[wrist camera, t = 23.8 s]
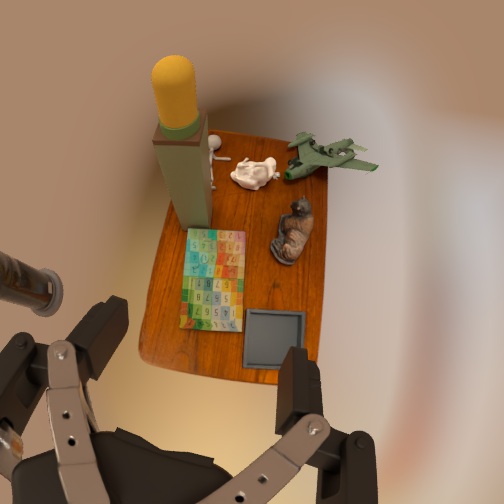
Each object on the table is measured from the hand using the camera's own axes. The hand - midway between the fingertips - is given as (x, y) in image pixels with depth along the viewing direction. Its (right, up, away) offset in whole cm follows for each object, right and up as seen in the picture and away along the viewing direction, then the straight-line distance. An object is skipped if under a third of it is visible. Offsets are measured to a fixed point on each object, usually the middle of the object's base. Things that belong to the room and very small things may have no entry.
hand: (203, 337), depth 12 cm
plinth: (-10, +11, +48) cm, 50 cm away
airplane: (+22, +31, +50) cm, 63 cm away
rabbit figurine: (+3, +20, +52) cm, 55 cm away
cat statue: (+10, +6, +48) cm, 50 cm away
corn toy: (-7, +20, +19) cm, 28 cm away
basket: (+6, -14, +41) cm, 44 cm away
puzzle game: (-5, -2, +44) cm, 44 cm away
